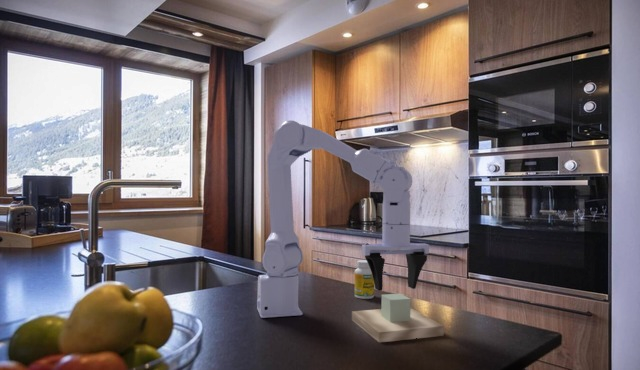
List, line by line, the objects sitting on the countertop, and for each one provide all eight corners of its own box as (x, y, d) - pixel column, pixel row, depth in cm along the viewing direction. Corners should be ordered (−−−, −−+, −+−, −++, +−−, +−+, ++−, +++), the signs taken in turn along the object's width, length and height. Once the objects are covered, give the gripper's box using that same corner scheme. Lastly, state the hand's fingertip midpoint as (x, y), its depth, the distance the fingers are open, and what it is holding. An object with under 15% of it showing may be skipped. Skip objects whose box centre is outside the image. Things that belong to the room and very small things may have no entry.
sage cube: (390, 322, 84) (390, 300, 84) (381, 315, 88) (381, 294, 88) (410, 320, 85) (410, 298, 85) (400, 314, 89) (400, 293, 89)
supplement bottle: (365, 293, 115) (366, 258, 115) (378, 297, 111) (378, 261, 111) (350, 295, 112) (350, 260, 112) (362, 300, 108) (363, 263, 108)
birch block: (379, 345, 78) (379, 332, 78) (351, 322, 91) (351, 311, 91) (443, 338, 82) (443, 325, 82) (408, 317, 95) (408, 306, 95)
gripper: (371, 225, 81) (370, 295, 81) (437, 225, 85) (436, 291, 85) (358, 222, 88) (357, 286, 88) (419, 222, 92) (419, 283, 92)
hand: (395, 288), depth 87 cm, fingers open, 7 cm apart
